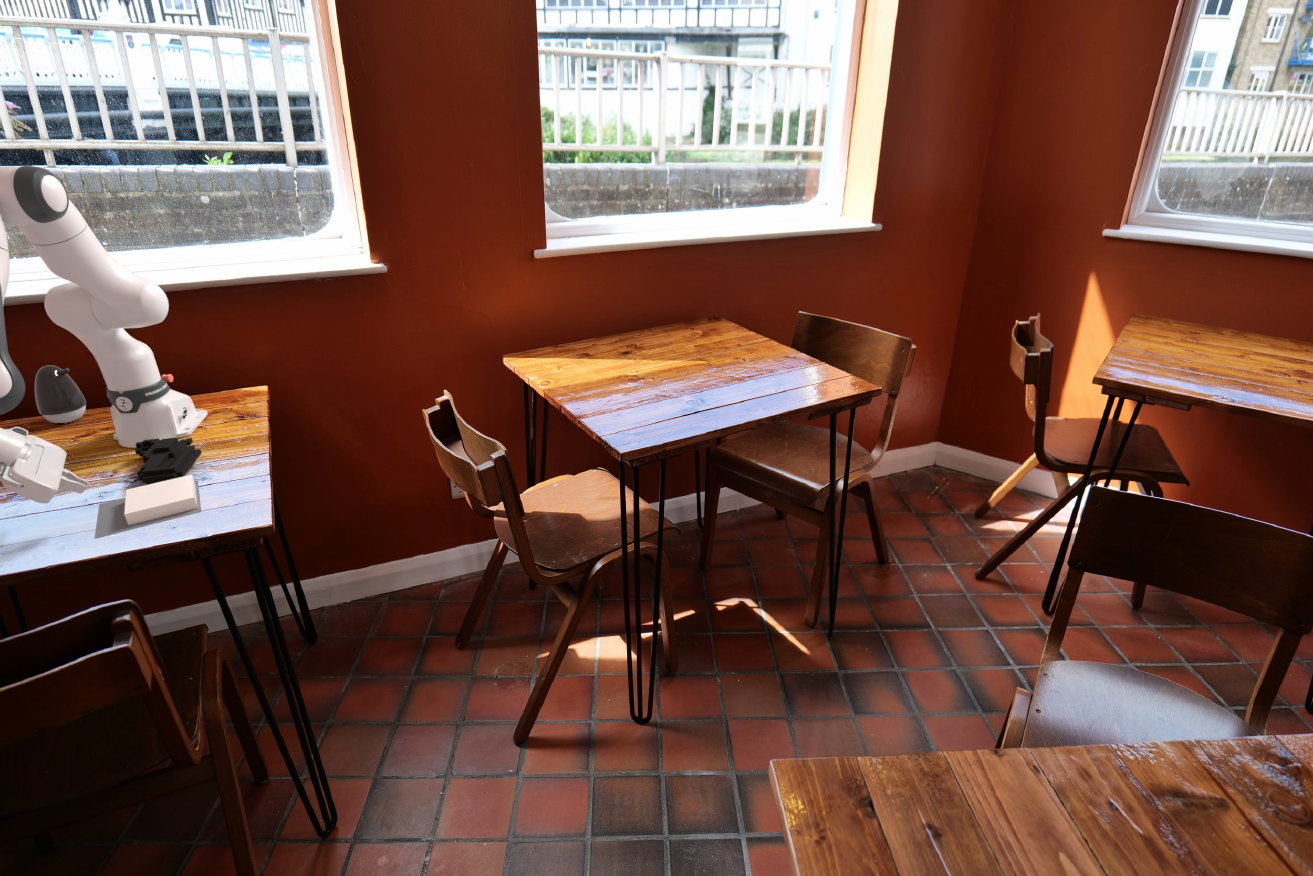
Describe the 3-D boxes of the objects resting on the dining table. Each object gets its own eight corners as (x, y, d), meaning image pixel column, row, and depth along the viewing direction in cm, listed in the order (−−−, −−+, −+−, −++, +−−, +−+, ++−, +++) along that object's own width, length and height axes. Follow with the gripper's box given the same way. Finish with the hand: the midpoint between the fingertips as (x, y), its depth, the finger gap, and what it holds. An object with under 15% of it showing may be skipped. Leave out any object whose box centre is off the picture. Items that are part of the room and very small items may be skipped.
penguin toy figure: (73, 427, 195) (52, 372, 188) (34, 428, 195) (11, 372, 189) (100, 412, 204) (81, 358, 198) (63, 412, 204) (42, 359, 198)
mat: (95, 540, 144) (94, 538, 144) (100, 505, 156) (99, 503, 156) (201, 513, 152) (201, 511, 152) (198, 482, 165) (197, 480, 164)
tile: (124, 514, 147) (194, 497, 152) (126, 489, 156) (192, 474, 162) (128, 525, 148) (197, 508, 153) (130, 500, 157) (195, 484, 163)
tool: (99, 473, 158) (176, 465, 161) (139, 434, 176) (208, 427, 179) (107, 495, 160) (184, 487, 163) (146, 454, 178) (214, 447, 181)
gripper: (4, 462, 130) (91, 495, 139) (20, 423, 146) (97, 455, 155) (-19, 492, 130) (70, 523, 139) (0, 449, 146) (78, 480, 154)
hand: (84, 487), depth 147 cm, fingers closed
